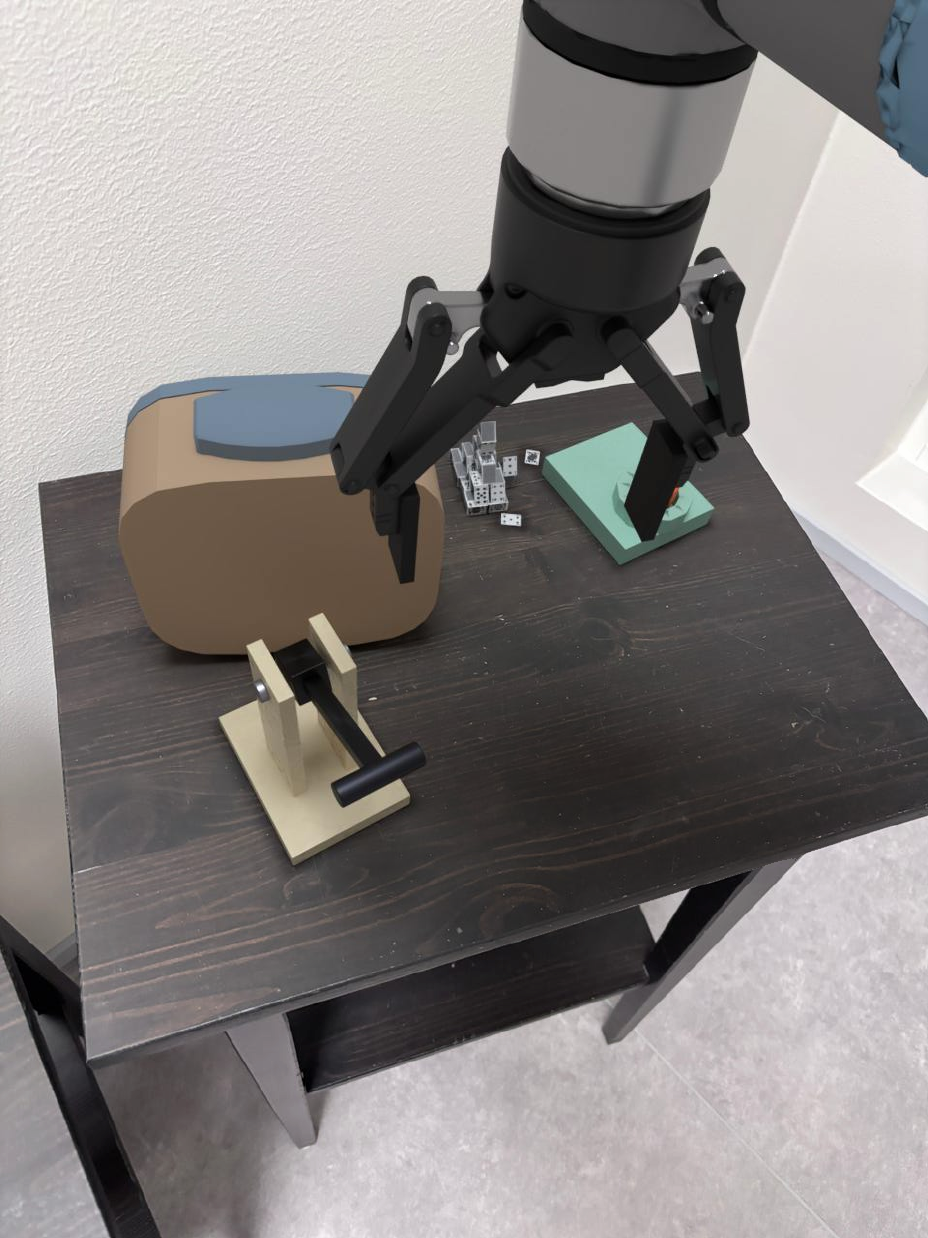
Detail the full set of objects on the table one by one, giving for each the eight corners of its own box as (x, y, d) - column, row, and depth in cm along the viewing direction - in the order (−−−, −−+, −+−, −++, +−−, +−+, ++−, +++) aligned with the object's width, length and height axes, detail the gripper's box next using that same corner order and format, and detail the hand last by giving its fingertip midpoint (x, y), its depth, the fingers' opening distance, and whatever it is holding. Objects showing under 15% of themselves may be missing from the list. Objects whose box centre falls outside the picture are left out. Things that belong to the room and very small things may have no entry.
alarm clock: (416, 551, 77) (431, 345, 60) (432, 646, 72) (453, 451, 55) (165, 569, 74) (102, 357, 56) (162, 669, 69) (92, 470, 51)
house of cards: (564, 521, 81) (581, 459, 74) (469, 532, 79) (477, 470, 73) (538, 448, 86) (551, 384, 79) (447, 457, 84) (454, 393, 78)
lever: (429, 776, 49) (424, 745, 48) (346, 819, 47) (338, 789, 46) (334, 657, 58) (327, 628, 56) (260, 690, 56) (251, 661, 54)
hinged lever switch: (409, 804, 65) (419, 702, 52) (293, 866, 61) (274, 773, 49) (331, 675, 70) (323, 556, 58) (221, 727, 67) (188, 611, 55)
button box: (708, 526, 82) (723, 496, 79) (621, 567, 78) (632, 538, 75) (626, 438, 87) (636, 407, 84) (541, 473, 84) (548, 442, 81)
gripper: (863, 87, 37) (702, 459, 54) (231, 123, 31) (280, 525, 49) (968, 193, 33) (758, 557, 50) (267, 256, 27) (306, 641, 45)
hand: (523, 542), depth 49 cm, fingers open, 13 cm apart
